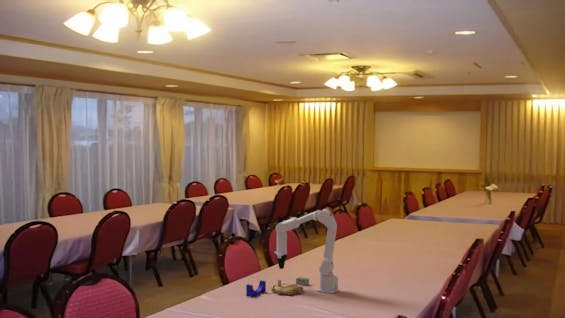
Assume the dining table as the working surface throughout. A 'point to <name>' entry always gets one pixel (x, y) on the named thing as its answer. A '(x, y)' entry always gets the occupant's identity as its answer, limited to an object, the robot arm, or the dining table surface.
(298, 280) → the link block
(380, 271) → the dining table surface
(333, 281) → the robot arm
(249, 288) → the cable clip
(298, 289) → the sprocket wheel
